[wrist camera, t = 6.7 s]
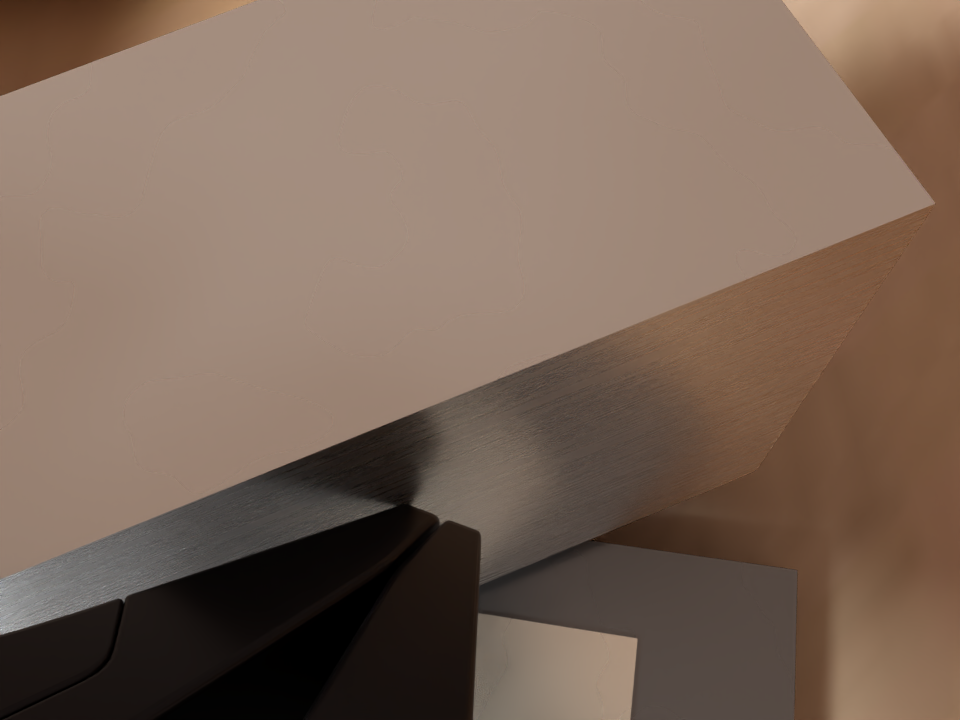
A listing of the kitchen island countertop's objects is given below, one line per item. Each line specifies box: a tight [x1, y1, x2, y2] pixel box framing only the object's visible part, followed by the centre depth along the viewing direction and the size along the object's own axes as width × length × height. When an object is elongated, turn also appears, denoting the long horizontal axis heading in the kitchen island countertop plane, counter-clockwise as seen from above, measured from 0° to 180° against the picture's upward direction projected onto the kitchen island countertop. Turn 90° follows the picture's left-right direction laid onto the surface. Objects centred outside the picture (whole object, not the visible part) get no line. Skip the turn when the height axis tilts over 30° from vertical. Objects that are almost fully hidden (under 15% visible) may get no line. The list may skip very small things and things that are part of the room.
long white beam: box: [0, 0, 936, 635], centre depth 11 cm, size 5×16×8 cm, turn 111°
